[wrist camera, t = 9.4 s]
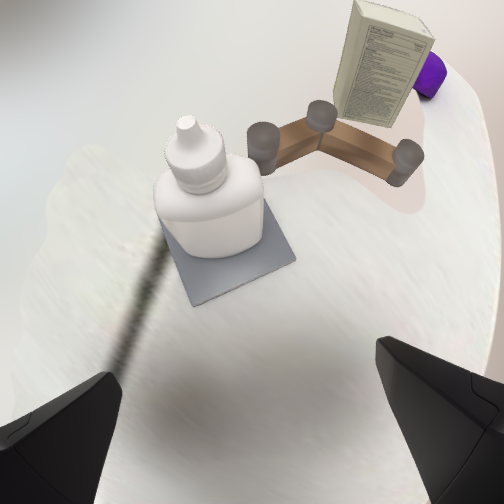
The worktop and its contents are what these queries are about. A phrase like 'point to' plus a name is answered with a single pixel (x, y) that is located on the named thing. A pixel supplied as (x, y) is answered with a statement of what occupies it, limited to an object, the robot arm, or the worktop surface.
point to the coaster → (231, 263)
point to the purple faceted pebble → (430, 76)
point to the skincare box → (379, 63)
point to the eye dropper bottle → (208, 193)
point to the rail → (331, 145)
